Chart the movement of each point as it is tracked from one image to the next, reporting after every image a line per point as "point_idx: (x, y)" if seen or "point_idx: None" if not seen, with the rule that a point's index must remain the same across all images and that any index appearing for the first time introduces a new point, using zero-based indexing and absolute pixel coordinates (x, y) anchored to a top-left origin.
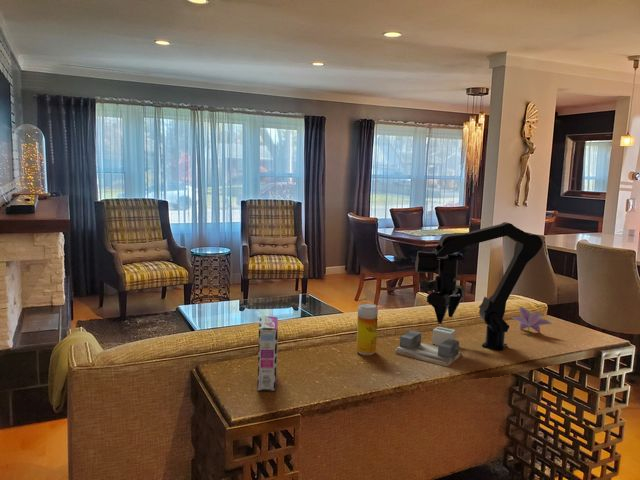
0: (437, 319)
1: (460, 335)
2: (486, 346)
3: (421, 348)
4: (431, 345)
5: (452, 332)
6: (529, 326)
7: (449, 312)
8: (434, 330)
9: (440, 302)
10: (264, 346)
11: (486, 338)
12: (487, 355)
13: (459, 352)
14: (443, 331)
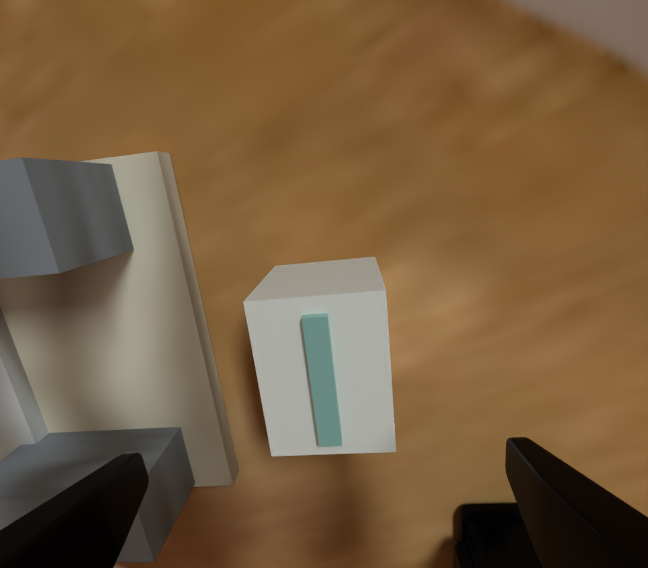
0: (75, 487)
1: (620, 326)
2: (461, 531)
3: (77, 293)
4: (184, 312)
5: (317, 453)
6: None
7: (537, 500)
8: (246, 317)
9: None
10: None
11: (509, 565)
12: (340, 557)
13: (213, 481)
14: (274, 394)
